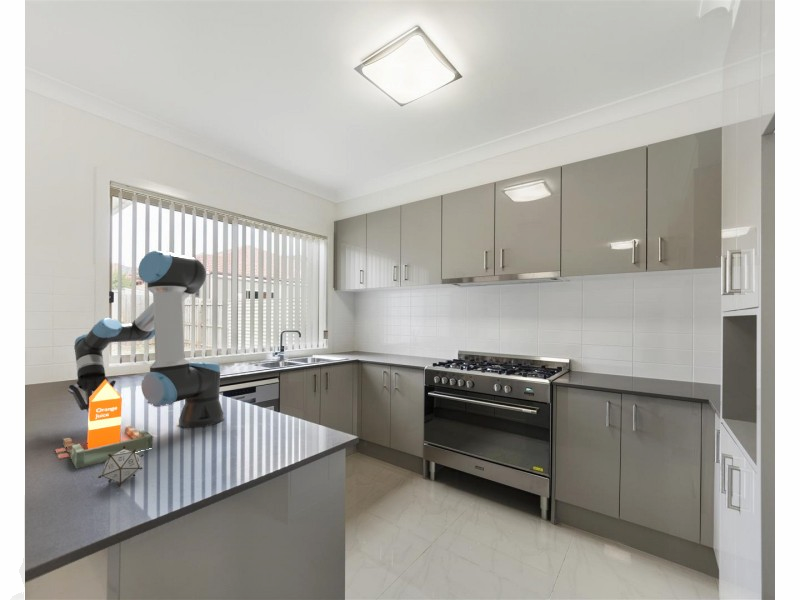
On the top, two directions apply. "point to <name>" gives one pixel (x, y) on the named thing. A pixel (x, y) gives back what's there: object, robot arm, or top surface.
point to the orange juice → (104, 416)
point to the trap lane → (108, 448)
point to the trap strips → (61, 454)
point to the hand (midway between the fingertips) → (97, 423)
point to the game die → (121, 465)
